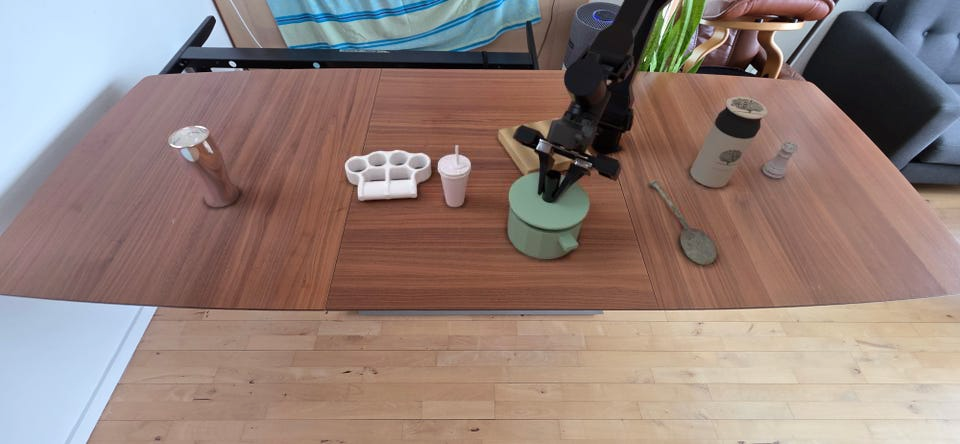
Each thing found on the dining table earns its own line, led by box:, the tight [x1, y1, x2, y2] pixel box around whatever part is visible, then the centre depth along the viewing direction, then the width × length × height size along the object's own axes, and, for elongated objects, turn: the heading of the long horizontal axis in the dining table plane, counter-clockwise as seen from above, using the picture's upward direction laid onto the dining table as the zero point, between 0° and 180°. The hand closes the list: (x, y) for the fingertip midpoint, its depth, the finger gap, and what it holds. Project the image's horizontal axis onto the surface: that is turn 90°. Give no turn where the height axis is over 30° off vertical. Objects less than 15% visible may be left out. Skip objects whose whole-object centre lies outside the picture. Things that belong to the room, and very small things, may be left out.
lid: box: [508, 170, 591, 230], centre depth 75 cm, size 14×14×7 cm
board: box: [497, 117, 593, 176], centre depth 100 cm, size 16×16×2 cm
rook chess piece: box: [762, 140, 799, 180], centre depth 95 cm, size 4×4×8 cm
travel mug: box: [689, 96, 768, 188], centre depth 90 cm, size 8×8×18 cm
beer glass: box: [167, 125, 240, 208], centre depth 82 cm, size 7×7×15 cm
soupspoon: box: [649, 179, 718, 266], centre depth 85 cm, size 22×3×7 cm
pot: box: [507, 205, 584, 260], centre depth 81 cm, size 13×19×7 cm
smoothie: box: [437, 144, 472, 208], centre depth 83 cm, size 6×6×14 cm
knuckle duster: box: [344, 149, 432, 202], centre depth 91 cm, size 3×18×15 cm
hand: (546, 198), depth 75 cm, fingers closed on lid, 3 cm apart
